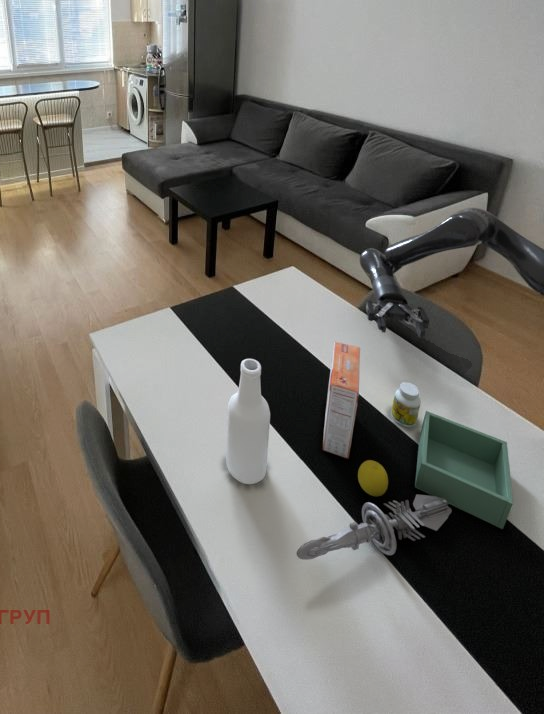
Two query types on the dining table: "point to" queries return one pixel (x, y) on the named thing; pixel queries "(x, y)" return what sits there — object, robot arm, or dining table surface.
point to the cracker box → (342, 399)
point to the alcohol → (248, 427)
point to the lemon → (373, 478)
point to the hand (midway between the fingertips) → (403, 332)
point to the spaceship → (382, 527)
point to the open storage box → (464, 469)
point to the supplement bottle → (406, 405)
